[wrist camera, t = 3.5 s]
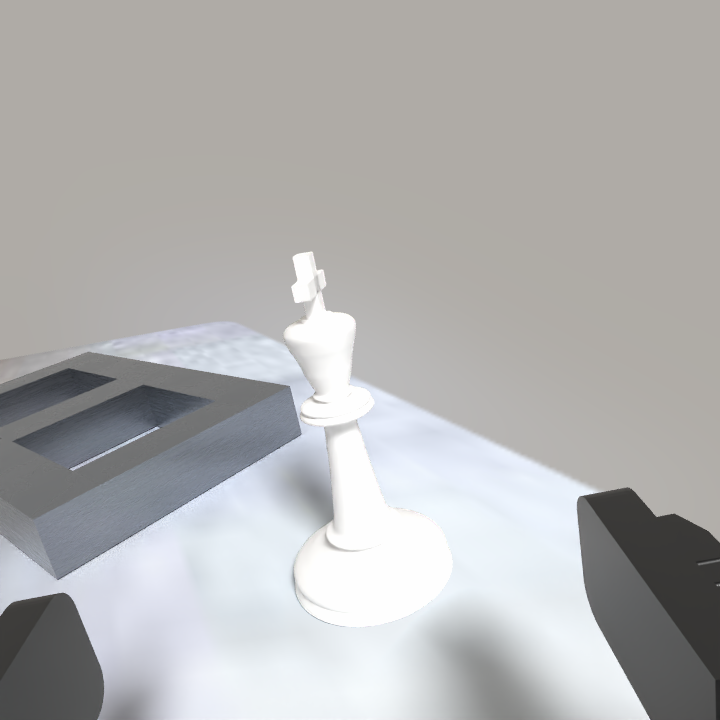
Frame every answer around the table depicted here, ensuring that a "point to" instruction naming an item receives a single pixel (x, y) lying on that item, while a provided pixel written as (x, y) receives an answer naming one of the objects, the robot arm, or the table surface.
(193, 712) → the table surface
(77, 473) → the grey two-window frame
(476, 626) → the table surface
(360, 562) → the chess piece
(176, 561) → the table surface
